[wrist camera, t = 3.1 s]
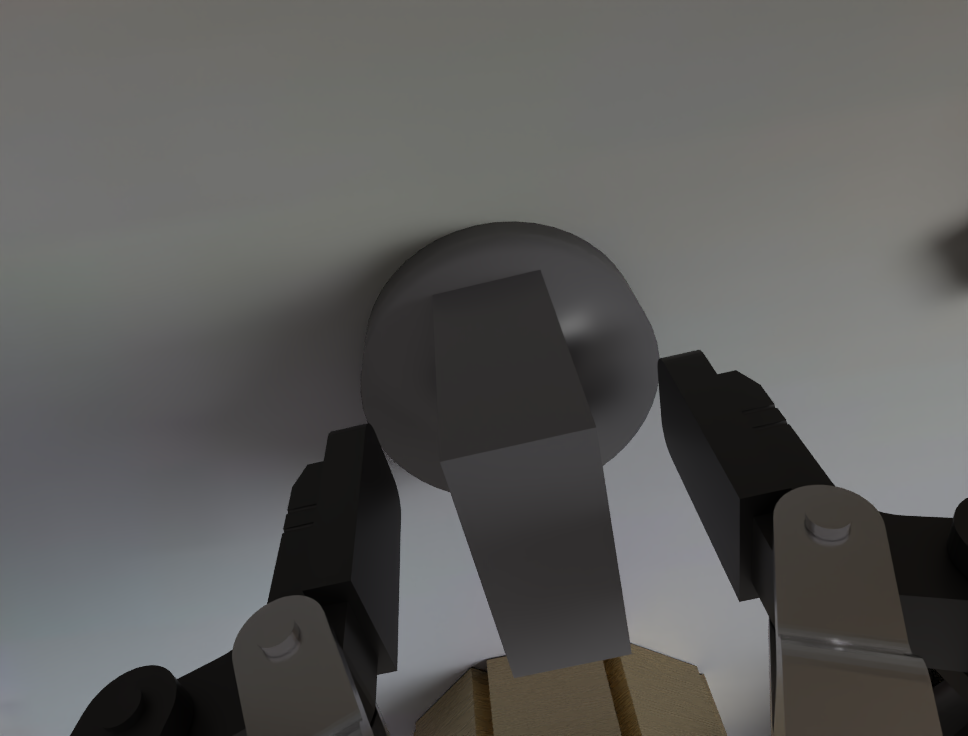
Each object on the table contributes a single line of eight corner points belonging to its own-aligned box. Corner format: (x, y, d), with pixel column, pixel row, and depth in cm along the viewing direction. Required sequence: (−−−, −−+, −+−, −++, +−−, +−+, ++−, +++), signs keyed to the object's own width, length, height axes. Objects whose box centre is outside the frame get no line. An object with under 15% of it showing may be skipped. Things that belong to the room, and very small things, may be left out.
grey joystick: (626, 188, 13) (756, 358, 8) (648, 424, 16) (751, 647, 11) (325, 260, 13) (271, 467, 8) (408, 477, 17) (406, 717, 12)
